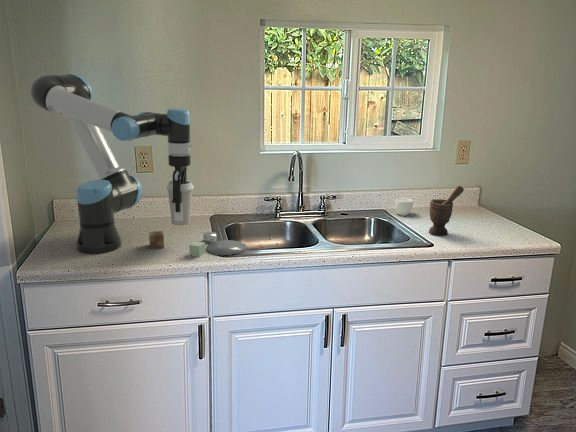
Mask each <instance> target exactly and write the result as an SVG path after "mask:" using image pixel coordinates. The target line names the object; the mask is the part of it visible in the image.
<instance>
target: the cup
mask: <svg viewBox="0 0 576 432" xmlns="http://www.w3.org/2000/svg"><path fill="white" fill-rule="evenodd" d="M413 203H414V200H413V199H412V198H409V197H408V198H407V197H397V198H395V199H394V208H395V211H396V212H397V214H398V215H399V216H403V217H404V216H408V215H409V214H410V213H411V211H412V209H413V205H414V204H413Z"/></svg>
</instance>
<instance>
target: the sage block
mask: <svg viewBox="0 0 576 432" xmlns="http://www.w3.org/2000/svg"><path fill="white" fill-rule="evenodd" d="M188 248H189V256H191V255H192V257H198V258H200V257H203V256H205V254H206V252H207V247H206V243H204V242H203V241H196V240H195V241H193V242H191V243H190V244H189V247H188Z"/></svg>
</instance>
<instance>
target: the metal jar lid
mask: <svg viewBox="0 0 576 432" xmlns="http://www.w3.org/2000/svg"><path fill="white" fill-rule="evenodd" d="M202 237H203V238H202V240H203V241H202V242H204V243H205V244H207V245H209V244H210V243H213V242H216V241H218V239H217V232H215V231H206V232H203V233H202Z"/></svg>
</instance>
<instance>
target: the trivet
mask: <svg viewBox="0 0 576 432" xmlns="http://www.w3.org/2000/svg"><path fill="white" fill-rule="evenodd" d="M246 250H247V246H246V244H245V243H244V242H242V241H238V240H233V239H231V240H229V239H225V240H224V239H223V240H217V241H216V242H213V243H210V244H207V246H206V252H208V253H209V254H212V255H214V256H224V255H228V256H233V255H232V254H236V255H239V254H242V253H244V252H245V251H246Z"/></svg>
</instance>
